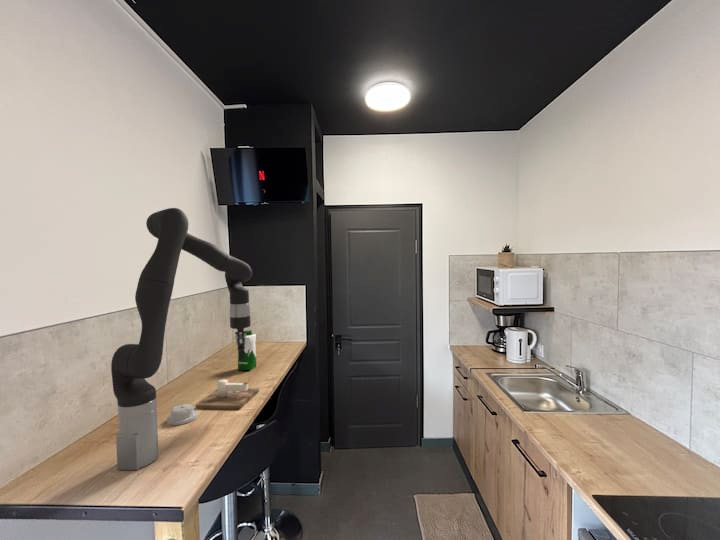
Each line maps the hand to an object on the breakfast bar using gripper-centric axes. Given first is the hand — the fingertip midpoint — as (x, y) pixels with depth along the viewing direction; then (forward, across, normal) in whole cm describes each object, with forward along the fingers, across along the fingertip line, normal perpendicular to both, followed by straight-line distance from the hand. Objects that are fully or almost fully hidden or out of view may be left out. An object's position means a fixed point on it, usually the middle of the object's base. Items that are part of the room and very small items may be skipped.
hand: (241, 359), depth 133 cm
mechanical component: (+19, -2, +21) cm, 28 cm away
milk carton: (+19, +52, -2) cm, 55 cm away
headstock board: (+19, +10, +6) cm, 22 cm away
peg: (+17, +9, +4) cm, 20 cm away
